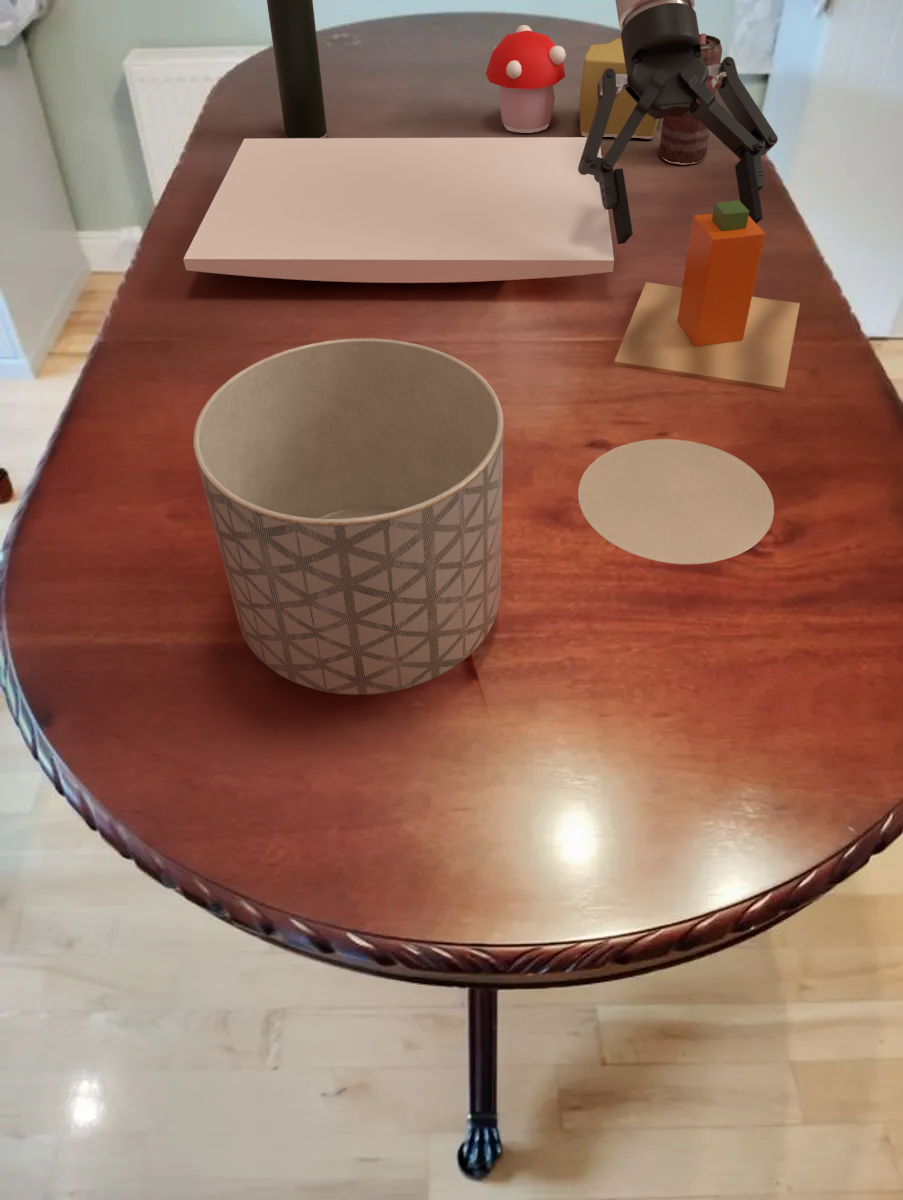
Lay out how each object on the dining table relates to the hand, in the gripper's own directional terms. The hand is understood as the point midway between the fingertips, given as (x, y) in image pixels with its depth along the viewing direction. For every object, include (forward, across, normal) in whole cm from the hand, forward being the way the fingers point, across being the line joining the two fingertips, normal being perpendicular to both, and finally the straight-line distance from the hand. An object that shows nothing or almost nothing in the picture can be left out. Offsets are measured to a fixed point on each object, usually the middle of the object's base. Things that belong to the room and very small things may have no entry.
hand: (689, 231), depth 101 cm
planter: (+33, +39, +22) cm, 55 cm away
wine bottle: (-33, +34, -44) cm, 65 cm away
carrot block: (+10, 0, +1) cm, 10 cm away
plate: (+27, +12, +17) cm, 34 cm away
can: (-19, -13, -30) cm, 38 cm away
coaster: (+11, 0, +1) cm, 11 cm away
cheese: (-28, -9, -38) cm, 48 cm away
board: (-10, +25, -21) cm, 34 cm away
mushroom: (-30, +4, -41) cm, 51 cm away
